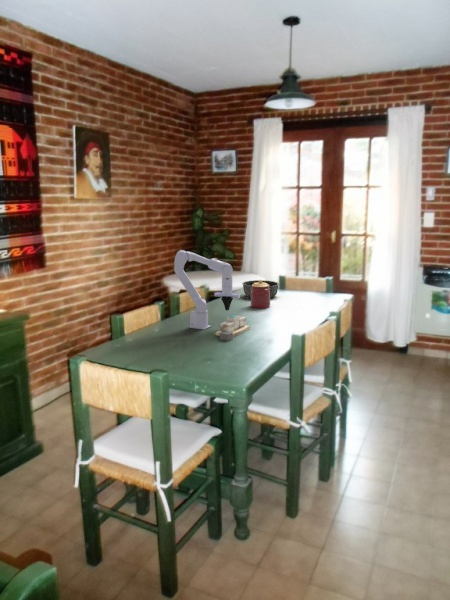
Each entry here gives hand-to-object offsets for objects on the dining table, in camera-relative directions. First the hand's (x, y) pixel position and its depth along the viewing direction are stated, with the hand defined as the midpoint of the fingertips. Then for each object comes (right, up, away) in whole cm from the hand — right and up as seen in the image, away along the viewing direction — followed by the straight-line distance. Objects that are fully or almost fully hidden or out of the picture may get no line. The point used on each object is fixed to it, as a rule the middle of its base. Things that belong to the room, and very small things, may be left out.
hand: (227, 310), depth 271 cm
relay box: (-1, -14, -22) cm, 27 cm away
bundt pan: (+24, +8, +84) cm, 88 cm away
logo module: (+3, -9, -9) cm, 14 cm away
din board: (+3, -11, -9) cm, 15 cm away
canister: (+22, +1, +52) cm, 56 cm away
